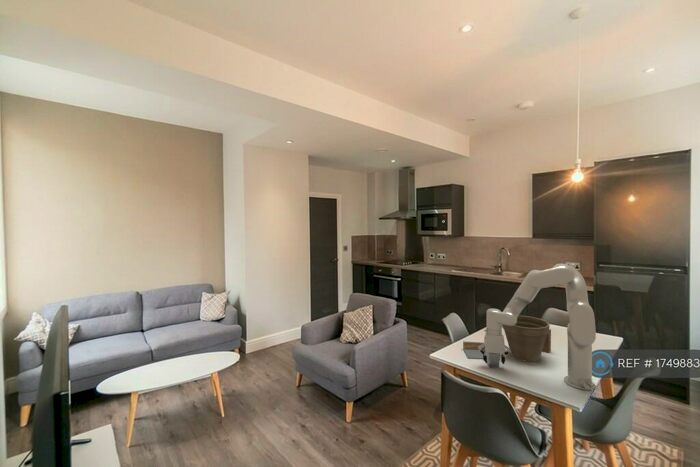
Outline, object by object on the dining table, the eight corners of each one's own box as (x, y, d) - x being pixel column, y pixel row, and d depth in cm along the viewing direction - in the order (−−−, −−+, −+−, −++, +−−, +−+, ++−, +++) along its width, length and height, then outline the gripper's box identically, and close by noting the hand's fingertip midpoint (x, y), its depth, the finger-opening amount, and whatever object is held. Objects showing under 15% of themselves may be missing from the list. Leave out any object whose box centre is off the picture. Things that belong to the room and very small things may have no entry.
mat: (500, 360, 177) (500, 359, 177) (467, 358, 180) (467, 357, 180) (493, 350, 191) (493, 349, 191) (463, 349, 194) (463, 348, 194)
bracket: (499, 368, 167) (499, 353, 167) (489, 367, 168) (489, 353, 168) (495, 361, 175) (495, 348, 175) (485, 361, 176) (485, 347, 176)
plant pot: (510, 364, 171) (510, 326, 171) (495, 347, 196) (495, 314, 195) (558, 367, 168) (558, 328, 167) (537, 349, 192) (537, 315, 192)
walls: (500, 360, 177) (500, 351, 177) (467, 358, 180) (467, 350, 180) (493, 350, 191) (493, 342, 191) (463, 349, 194) (463, 341, 194)
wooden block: (548, 353, 187) (548, 324, 186) (530, 347, 195) (530, 319, 195) (551, 351, 189) (551, 323, 188) (532, 346, 198) (532, 318, 197)
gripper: (479, 333, 166) (479, 364, 166) (513, 334, 163) (513, 366, 163) (475, 328, 174) (476, 358, 174) (508, 330, 171) (508, 360, 171)
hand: (494, 362), depth 169 cm, fingers open, 8 cm apart
